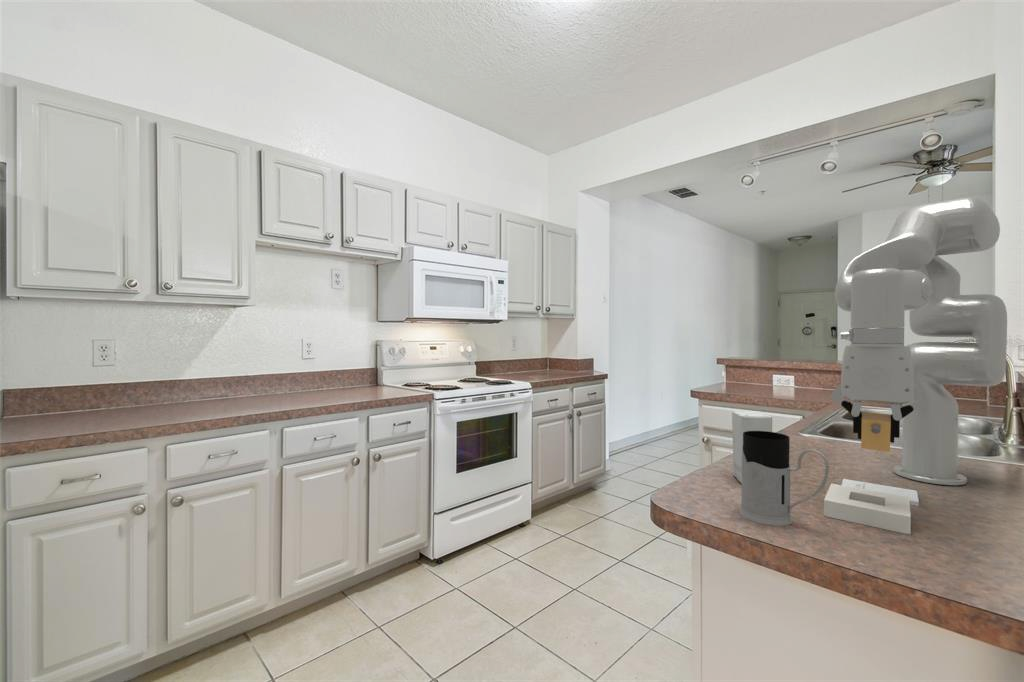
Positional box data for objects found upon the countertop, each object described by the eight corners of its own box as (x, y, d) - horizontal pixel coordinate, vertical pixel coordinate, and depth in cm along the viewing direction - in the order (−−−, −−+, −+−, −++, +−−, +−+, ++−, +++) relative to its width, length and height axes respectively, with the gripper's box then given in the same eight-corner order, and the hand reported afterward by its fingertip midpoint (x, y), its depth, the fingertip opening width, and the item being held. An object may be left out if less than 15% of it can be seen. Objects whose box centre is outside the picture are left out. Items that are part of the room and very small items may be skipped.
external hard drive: (918, 509, 88) (840, 494, 96) (916, 497, 95) (843, 484, 103) (919, 501, 88) (840, 487, 96) (916, 489, 95) (843, 477, 103)
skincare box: (774, 488, 98) (774, 417, 98) (741, 486, 100) (741, 416, 99) (760, 476, 107) (761, 410, 106) (730, 474, 108) (731, 409, 108)
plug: (862, 439, 85) (862, 411, 84) (889, 442, 83) (890, 414, 82) (860, 451, 81) (861, 423, 80) (889, 455, 79) (890, 426, 77)
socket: (831, 497, 93) (831, 483, 93) (908, 513, 85) (909, 497, 85) (823, 515, 84) (824, 499, 84) (910, 534, 76) (910, 516, 76)
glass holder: (750, 503, 90) (750, 428, 90) (835, 526, 79) (836, 441, 79) (730, 514, 84) (731, 434, 84) (819, 541, 73) (820, 449, 73)
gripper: (818, 338, 84) (818, 436, 84) (942, 339, 73) (941, 451, 74) (822, 337, 90) (822, 429, 90) (938, 337, 79) (936, 442, 80)
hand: (875, 438), depth 82 cm, fingers closed on plug, 3 cm apart
